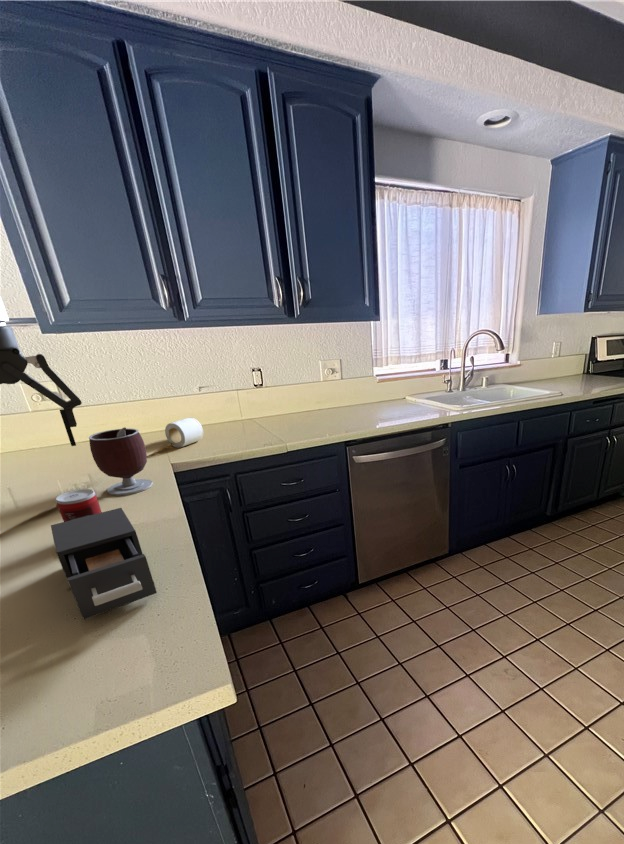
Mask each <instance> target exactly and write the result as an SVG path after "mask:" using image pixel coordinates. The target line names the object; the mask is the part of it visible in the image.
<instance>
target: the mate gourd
mask: <svg viewBox="0 0 624 844" xmlns="http://www.w3.org/2000/svg"><path fill="white" fill-rule="evenodd" d="M88 439H89V449H90V453H91V455H92V458H93V461H94V463H95V465H96V467H97V468H98V470H99V471H100V472H102V474H103V473H104V474H105V475H106V476H108V477H111V478H120V479H122V481H120V482H117V483H115V484H113V485H111V486H109V487H108V488H107V493H108V495H110V496H118V497H119V496H128V495H134V494H137V493H141V492H145V491H146V490H148V489H150V488H151V487H152V486H153V481H152V480H150V479H148V478H147V479H146V478H136V479H135V478H134V477H133V476H135V475H137V474H139V473H141V472H142V471H143V470H144V468H145V466H146V465H147V462H148V456H147V455H148V454H147V449H146V445H145V442H144V439H143V437H142V435H141V434H140V431H139V429H137V428H127V427H125V426H124V427H122V428H116V429H109V430H103V431H99V432H96V433H93V434H91V435H89V436H88Z"/></svg>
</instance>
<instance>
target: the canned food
mask: <svg viewBox="0 0 624 844" xmlns="http://www.w3.org/2000/svg"><path fill="white" fill-rule="evenodd" d="M55 504H56V505H57V508H58V510H59V514H60V515H61V516H60V517H61V518H62V522H66V521H70V520H74V519H78V518H82V517H86V516H90V515H94V514H98V513H102V512H103V511H102V509H101V506H100V502H99V500H98V497H97V495H96V492H95V490H94V489H90V488H80V489H74V490H70V491H67V492H63V493H61V494H59V495H57V496H56V497H55Z"/></svg>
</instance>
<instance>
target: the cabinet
mask: <svg viewBox="0 0 624 844" xmlns="http://www.w3.org/2000/svg"><path fill="white" fill-rule="evenodd" d="M101 512H102V513H98V514H94V515H90V516H86V517H82V518H78V519H74V520H70V521H66V522H64V521H61V522H58V523H54V524H50V527H51V528H50V529H51V533H52V538H53V545H54V549H55V553H56V555H57V558H58V561H59V563H60V565H61V568H62V570H63V572H64V575H65V577H66V579H67V578H69V577H72V576H73V574H72V570H71V566H70V562H69V558H68V554H70V553H73V552H77V551H80V550H84V549H87V548H91V547H94V546H98V545H101V544H105V543H108V542H111V541H115V540H118V539H122V538H125V537H129V539H130V541H131V542H132V544H133V546H134V548H135V549H136V551H137V553H138V555H142V554H144V553H143V549H142V547H141V543H140V541H139V538H138V535H137V531H136V529H135V527H134V526H133V524H132V523H131V521H130V520H129V517H128V516H127V514H126V513H125V511H124V510H123V508H122V507H117V508H115V509H110V510H105V511H101Z"/></svg>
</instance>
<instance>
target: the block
mask: <svg viewBox="0 0 624 844" xmlns="http://www.w3.org/2000/svg"><path fill="white" fill-rule="evenodd" d="M123 560H124V559H123V557H122V555H121V553H120V551H119V549H117V550H114V551H111V552H107V553H104V554H101V555H97V556H94V557H91V558H87V559H85V561H86V564H87V567H88V570H89V571H91V570H94V569H98V568H101V567H104V566H107V565H110V564H114V563H117V562H120V561H123Z"/></svg>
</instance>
